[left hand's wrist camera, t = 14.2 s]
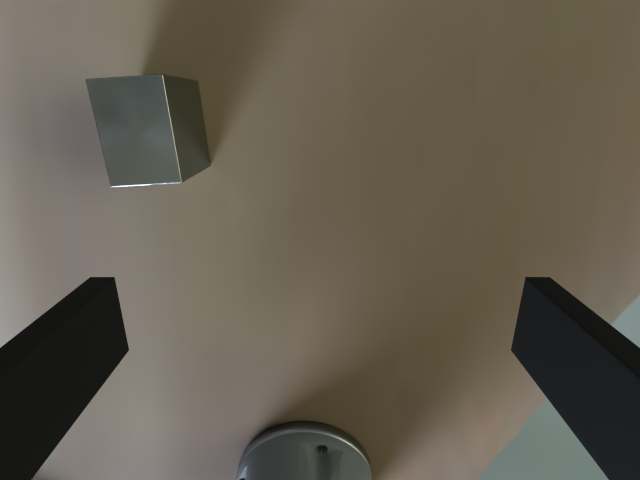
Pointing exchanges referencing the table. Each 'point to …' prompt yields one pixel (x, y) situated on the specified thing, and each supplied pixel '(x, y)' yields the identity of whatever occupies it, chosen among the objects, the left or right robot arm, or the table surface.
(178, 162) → the brick
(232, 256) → the table surface
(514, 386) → the table surface
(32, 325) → the left robot arm
